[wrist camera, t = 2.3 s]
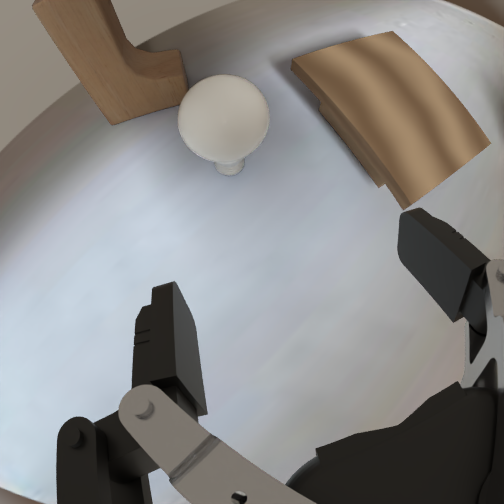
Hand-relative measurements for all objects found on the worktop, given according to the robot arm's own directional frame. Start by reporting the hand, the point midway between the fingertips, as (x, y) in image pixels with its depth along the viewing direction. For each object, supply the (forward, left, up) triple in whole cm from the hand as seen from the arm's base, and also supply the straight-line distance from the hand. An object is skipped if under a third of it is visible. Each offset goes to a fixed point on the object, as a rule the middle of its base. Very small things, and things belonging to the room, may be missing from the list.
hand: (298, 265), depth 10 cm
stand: (+19, +7, -16) cm, 26 cm away
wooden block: (0, +24, -16) cm, 28 cm away
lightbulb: (+3, +11, -16) cm, 20 cm away
